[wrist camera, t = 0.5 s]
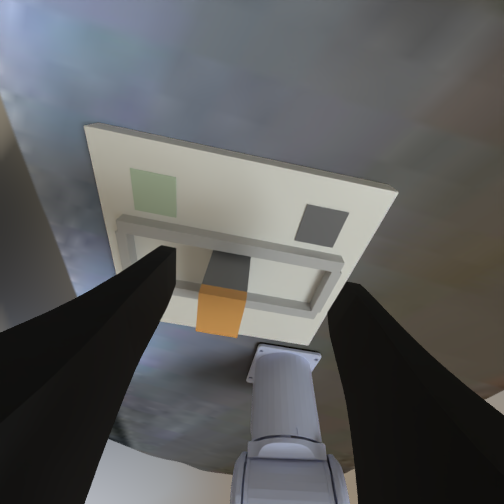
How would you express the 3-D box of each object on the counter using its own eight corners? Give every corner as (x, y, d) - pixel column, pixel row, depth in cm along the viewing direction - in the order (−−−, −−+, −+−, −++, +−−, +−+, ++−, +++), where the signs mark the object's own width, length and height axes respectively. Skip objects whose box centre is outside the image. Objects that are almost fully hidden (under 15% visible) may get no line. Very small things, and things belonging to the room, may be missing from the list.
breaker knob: (242, 290, 20) (236, 337, 17) (209, 284, 20) (195, 331, 16) (250, 255, 18) (246, 301, 14) (213, 248, 18) (198, 292, 14)
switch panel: (306, 333, 26) (309, 354, 24) (132, 304, 25) (120, 323, 23) (388, 184, 16) (406, 198, 14) (98, 122, 15) (72, 127, 13)
